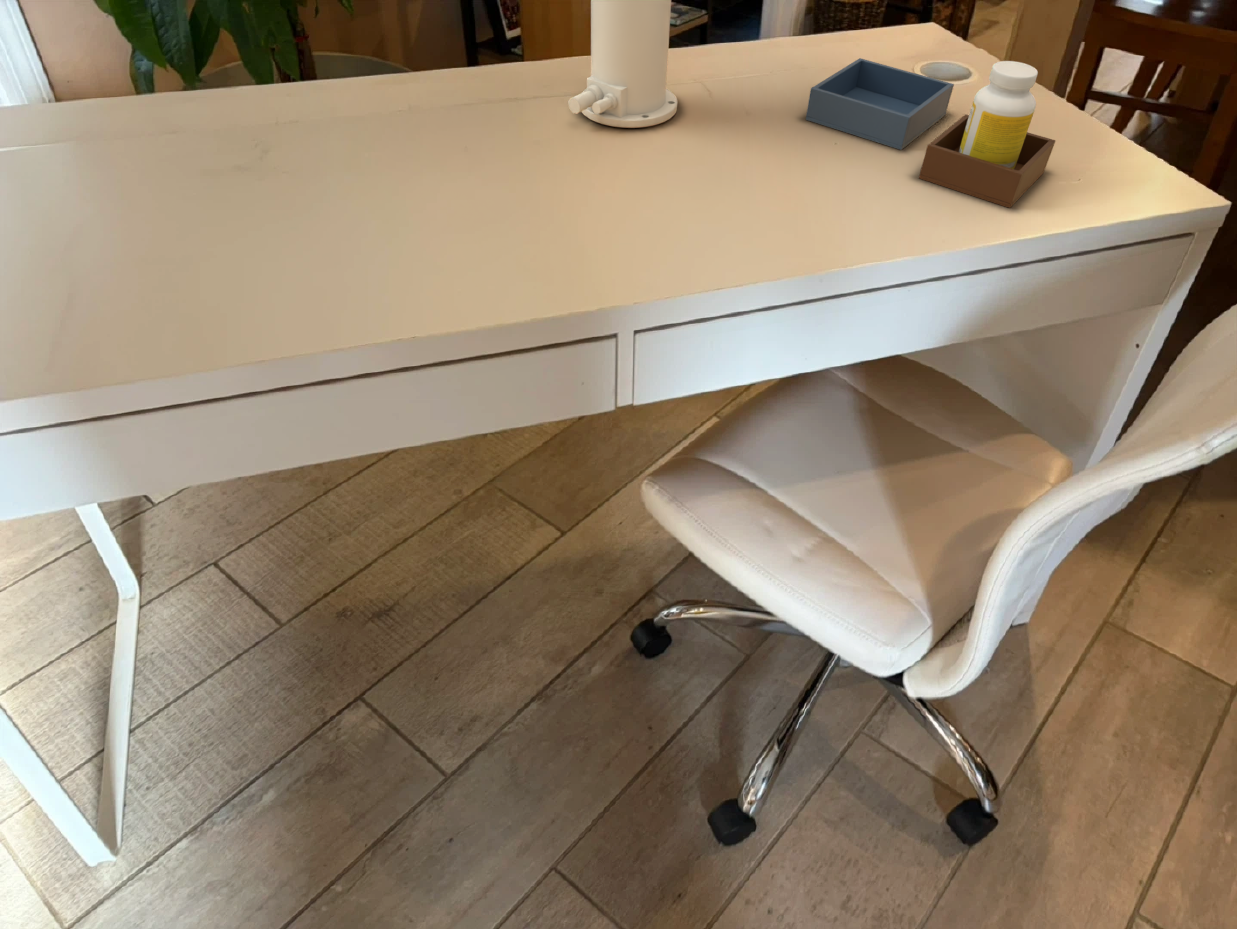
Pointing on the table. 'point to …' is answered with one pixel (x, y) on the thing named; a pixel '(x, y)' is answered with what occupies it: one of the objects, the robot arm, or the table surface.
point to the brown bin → (984, 167)
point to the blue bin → (879, 102)
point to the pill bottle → (1001, 115)
